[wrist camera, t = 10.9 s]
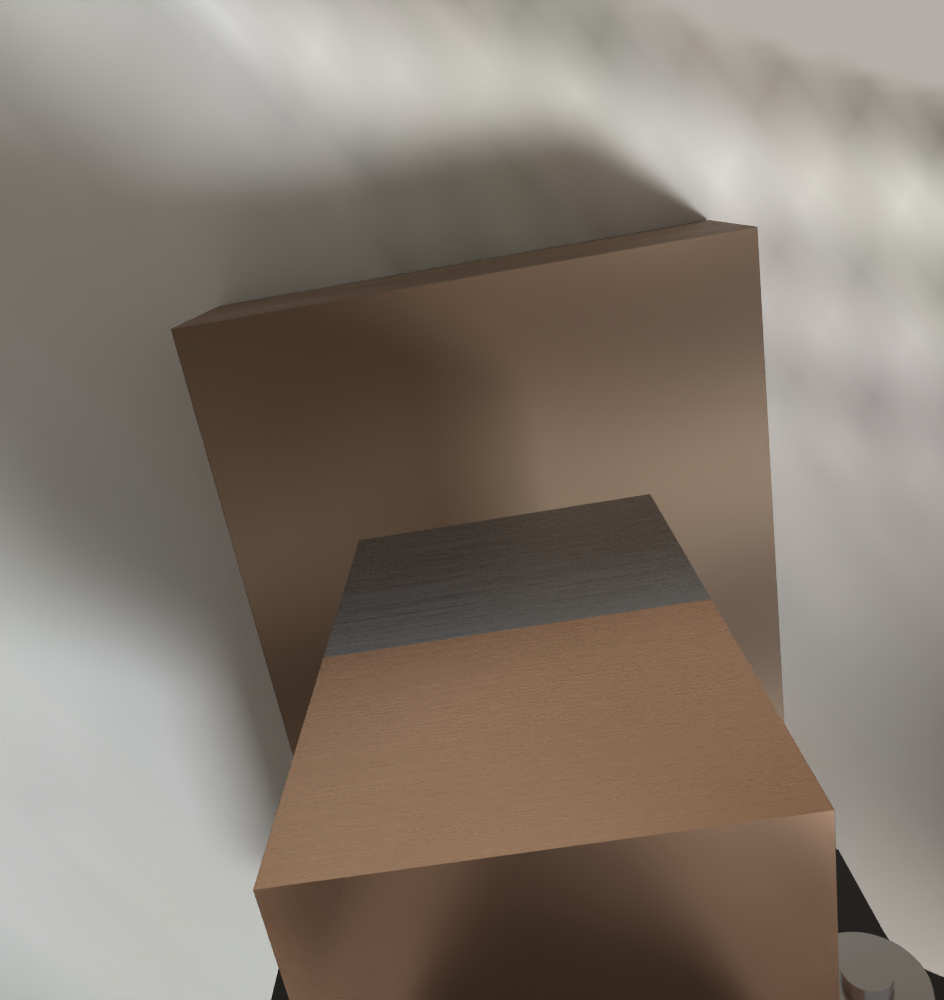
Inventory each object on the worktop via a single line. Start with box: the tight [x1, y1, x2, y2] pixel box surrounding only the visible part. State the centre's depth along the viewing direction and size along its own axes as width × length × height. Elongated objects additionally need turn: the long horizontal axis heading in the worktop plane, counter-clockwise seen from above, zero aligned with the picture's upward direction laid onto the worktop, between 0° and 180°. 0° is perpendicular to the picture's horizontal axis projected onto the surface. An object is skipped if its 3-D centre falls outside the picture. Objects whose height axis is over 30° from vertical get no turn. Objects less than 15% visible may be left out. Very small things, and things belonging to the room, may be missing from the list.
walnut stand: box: [171, 220, 784, 757], centre depth 19 cm, size 16×10×3 cm, turn 10°
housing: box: [253, 494, 840, 1000], centre depth 11 cm, size 4×9×7 cm, turn 10°
